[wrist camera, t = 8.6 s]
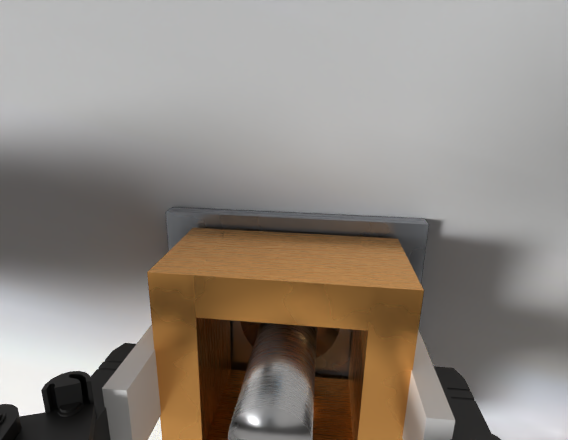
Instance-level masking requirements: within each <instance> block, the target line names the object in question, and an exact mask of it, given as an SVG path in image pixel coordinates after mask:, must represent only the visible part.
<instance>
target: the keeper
mask: <svg viewBox="0 0 568 440" xmlns="http://www.w3.org/2000/svg"><path fill="white" fill-rule="evenodd" d="M166 222H167V236H168V249H169V251H170V250H171V249H172V248H173V247H174V246H175V245H176V244H177V243H178V242H179V241H180V240H181V239H182V238H183V237H184V236H185V235H186V234H187V233H188V232H189V231H190V230H191V229H192V228H210V229H228V230H247V231H265V232H284V233H302V234H321V235H339V236H358V237H376V238H395V239H398V240H399V242H400V244H401V246H402V248H403V250H404V252H405V254H406V256H407V258H408V260H409V262H410V264H411V266H412V268H413V270H414V272H415V274H416V276H417V278H418V280H419V282H420V284H421V279H422V272H423V265H424V257H425V250H426V242H427V235H428V227H429V224H428V223H427V222H426V220H425V219H420V218H398V217H377V216H355V215H333V214H311V213H289V212H267V211H245V210H223V209H201V208H180V207H172V208H171V209H169V210H168V211H167V212H166ZM351 341H352V329H340V328H327V327H314V326H300V325H287V324H274V323H261V322H247V321H234V320H230V349H231V370H243V371H246V373H245V377H244V380H243V383H242V387H241V390H240V394H239V397H238V400H237V404H236V407H235V411H234V414H233V417H232V421H231V424H230V428H229V432H228V440H312V435H313V411H314V387H315V377H323V378H335V379H346V380H348V377H349V365H350V353H351Z"/></svg>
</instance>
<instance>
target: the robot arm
mask: <svg viewBox="0 0 568 440" xmlns="http://www.w3.org/2000/svg"><path fill="white" fill-rule="evenodd" d="M41 391H42V396H43V401H44V406H45V413H40V414H33V415H27V416H20V417H19V412H18V408H17V407H15V406H14V405H10V404H2V405H0V440H148V438H149V436H150V434H151V432H152V430H153V429H154V427H155V425H156V423H157V421H158V419H159V417H160V415H161V408H160V398H159V387H158V376H157V366H156V355H155V350H154V341H153V330H152V325H151V326H150V328H149V329H148V330H147V331H146V333H145V334H144V335H143V337H142V338H141V339H140V340H139V342H138V343H137V344H130V343H124V344H123V345H121V346H120V347H118V348H117V349H115V350H113V351H112V352H111V354H110V355H109V356H108V357H107V358H106V360H105V362H103V363H102V364H101V365H100V367H99V369H97V370H96V371H95V372H94V374H93V375H92V376H91V377H90V376H89V375H88V374H87V373H86V372H81V371H73V372H67V373H64V374H61V375H59V376H57V377H55V378H53V379H51V380H50V381H49V382H47V383H46V384H45V386H44V387H43V389H42V390H41ZM402 438H403V440H501V439H500V438H498V437H497V436H495V435H493V434H491V432H490V430H489V428H488V426H487V424H486V422H485V420H484V418H483V416H482V414H481V412H480V410H479V407H478V405H477V403H476V401H474V397H473V395H472V393H471V392H470V389H469V387H468V385H467V383H466V381H465V379H464V378H463V377H462V376H461V375H460V374H459V373H458V372H457V371H456V370H455V369H454V368H445V367H434V366H433V364H432V361H431V359H430V356H429V354H428V351H427V349H426V346H425V344H424V342H423V339H422V337H421V334H420V332H419V329H418V336H417V343H416V350H415V357H414V364H413V370H411V378H410V385H409V392H408V400H407V407H406V414H405V422H404V429H403V437H402Z"/></svg>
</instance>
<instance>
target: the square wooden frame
mask: <svg viewBox="0 0 568 440" xmlns="http://www.w3.org/2000/svg"><path fill="white" fill-rule="evenodd" d="M147 274H148V285H149V296H150V307H151V318H152V330H153V341H154V350H155V355H156V366H157V376H158V387H159V398H160V408H161V415H160V419H161V430H162V440H228V432H229V428H230V424H231V421H232V417H233V414H234V411H235V407H236V404H237V400H238V397H239V394H240V390H241V387H242V383H243V380H244V377H245V373H246V371H243V370H231V349H230V320H234V321H247V322H261V323H274V324H287V325H300V326H314V327H327V328H340V329H352V341H351V353H350V365H349V377H348V380H346V379H335V378H323V377H315V387H314V411H313V435H312V440H403V438H402V437H403V429H404V422H405V414H406V407H407V400H408V392H409V385H410V378H411V370H413V364H414V357H415V350H416V343H417V336H418V329H419V322H420V315H421V308H422V301H423V293H424V290H423V288H422V286H421V284H420V282H419V280H418V278H417V276H416V274H415V272H414V270H413V268H412V266H411V264H410V262H409V260H408V258H407V256H406V254H405V252H404V250H403V248H402V246H401V244H400V242H399V240H398V239H395V238H376V237H358V236H339V235H321V234H302V233H284V232H265V231H247V230H228V229H210V228H192V229H191V230H190V231H189V232H188V233H187V234H186V235H185V236H184V237H183V238H182V239H181V240H180V241H179V242H178V243H177V244H176V245H175V246H174V247H173V248H172V249H171V250H170V251H169V252H168V253H167V254H166V255H165V256H164V257H162V258H161V259H160V260H159V261H158V262H157V263H156V264H155V265H154V266H153V267H152V268H151V269H150V270H149V271H148V272H147Z"/></svg>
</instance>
